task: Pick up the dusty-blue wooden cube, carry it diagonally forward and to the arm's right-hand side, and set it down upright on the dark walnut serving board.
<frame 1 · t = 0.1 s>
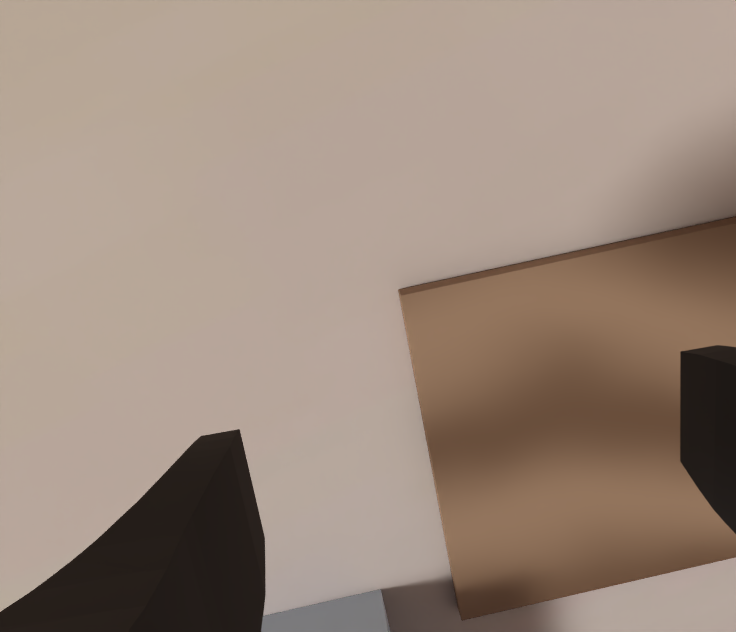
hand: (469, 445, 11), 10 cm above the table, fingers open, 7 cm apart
walnut board: (609, 422, 23), on the table
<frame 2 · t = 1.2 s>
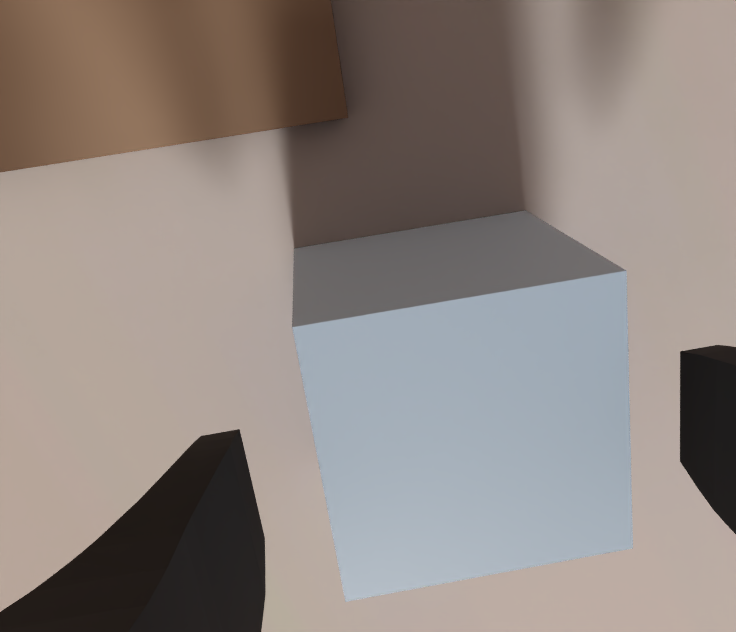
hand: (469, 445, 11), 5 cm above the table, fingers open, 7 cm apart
blue cube: (423, 336, 16), on the table
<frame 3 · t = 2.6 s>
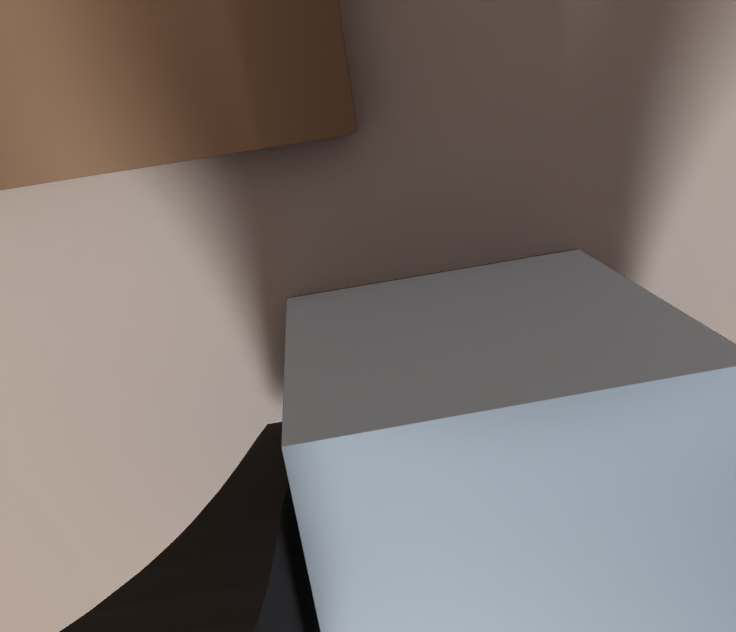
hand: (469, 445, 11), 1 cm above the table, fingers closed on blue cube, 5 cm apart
blue cube: (450, 406, 13), on the table, touching gripper
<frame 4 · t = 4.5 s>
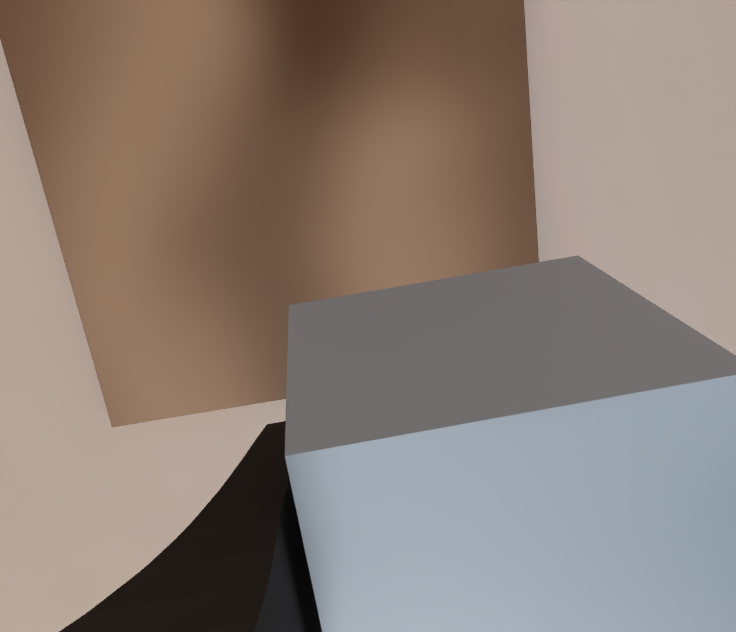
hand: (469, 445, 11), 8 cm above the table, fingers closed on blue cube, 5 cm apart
blue cube: (450, 411, 13), point 7 cm above the table, touching gripper
walnut board: (294, 169, 18), on the table
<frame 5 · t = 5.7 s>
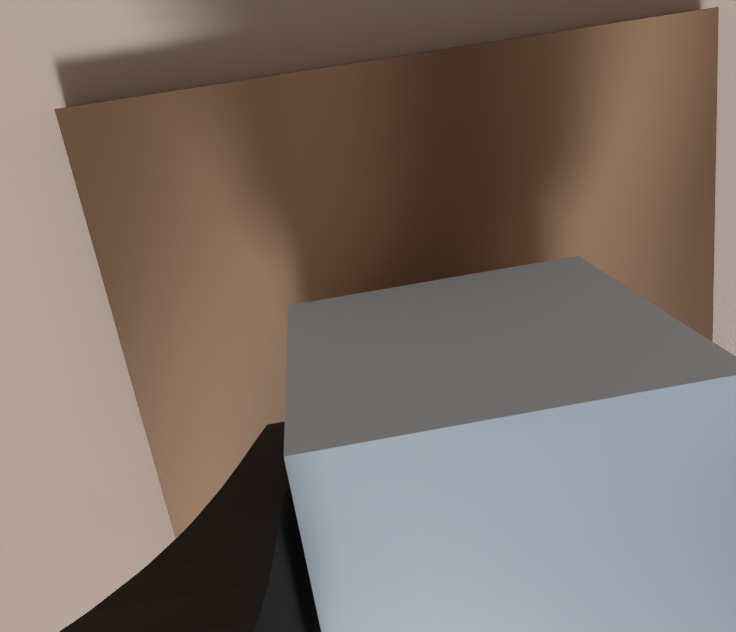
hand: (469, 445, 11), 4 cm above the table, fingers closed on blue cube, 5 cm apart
blue cube: (450, 411, 13), point 2 cm above the table, touching gripper
walnut board: (426, 353, 15), on the table
when the fingers open (3 cm above the table, at t = 6.7 s): blue cube drops 1 cm, resting on walnut board.
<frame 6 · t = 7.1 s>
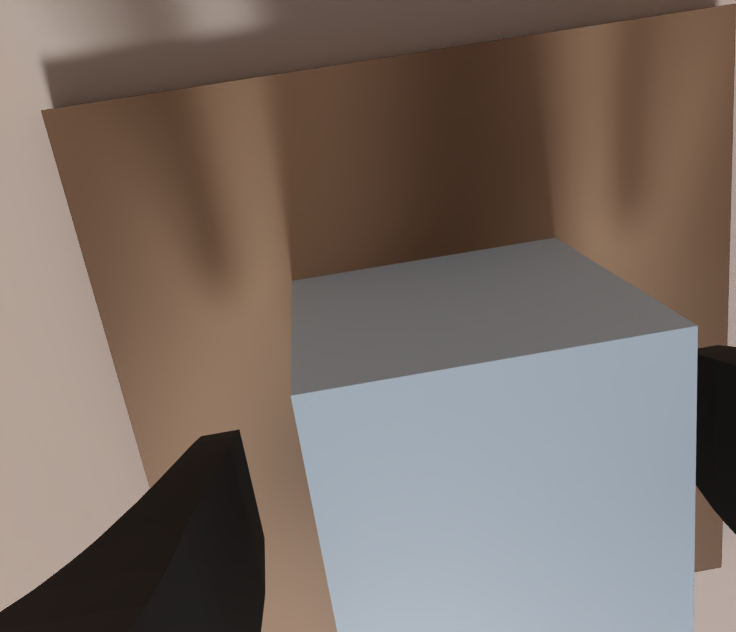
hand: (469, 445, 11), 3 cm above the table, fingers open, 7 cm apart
blue cube: (439, 380, 14), point 1 cm above the table, touching walnut board
walnut board: (430, 364, 15), on the table
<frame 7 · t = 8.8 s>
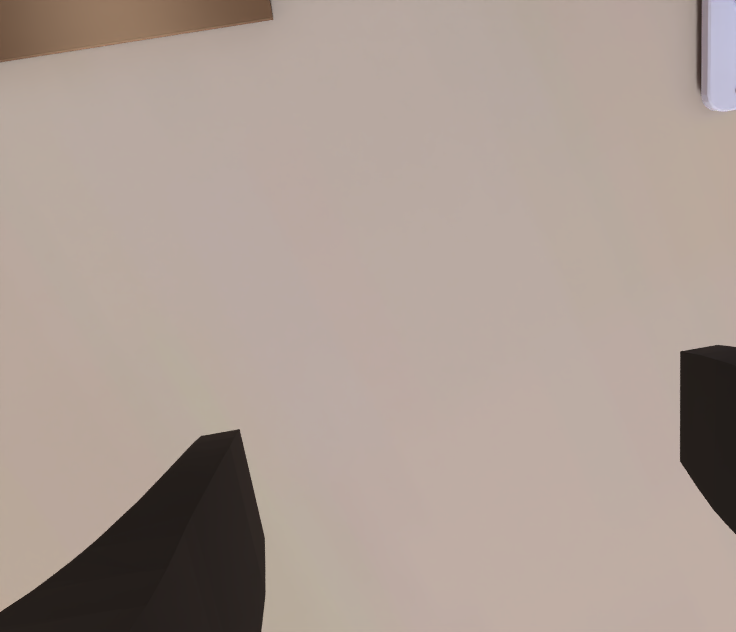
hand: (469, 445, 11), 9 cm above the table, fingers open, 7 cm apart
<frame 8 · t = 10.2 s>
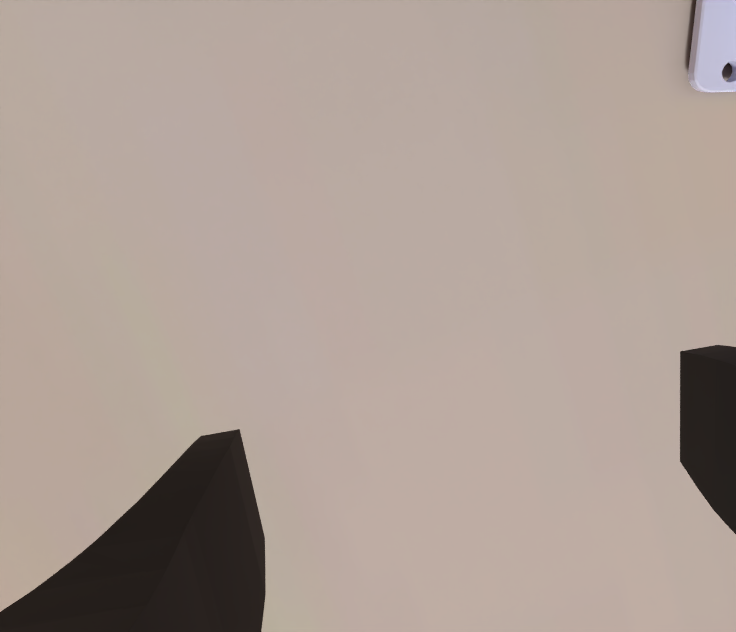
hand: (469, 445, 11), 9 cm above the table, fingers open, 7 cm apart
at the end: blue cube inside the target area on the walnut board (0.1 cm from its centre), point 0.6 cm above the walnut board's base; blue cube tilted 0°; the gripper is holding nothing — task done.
